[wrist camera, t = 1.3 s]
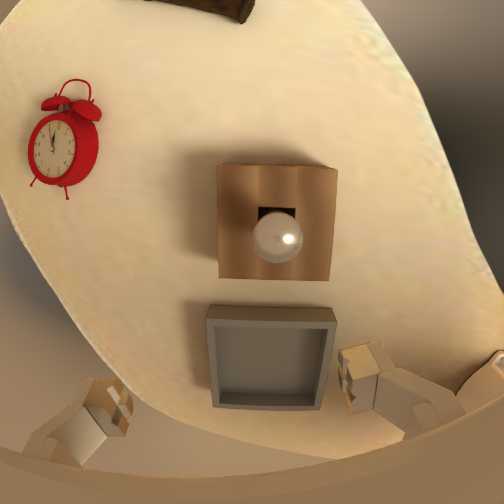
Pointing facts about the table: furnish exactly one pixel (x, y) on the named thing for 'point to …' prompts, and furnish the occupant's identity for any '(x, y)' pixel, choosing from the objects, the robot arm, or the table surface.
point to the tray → (269, 356)
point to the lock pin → (277, 236)
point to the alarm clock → (64, 141)
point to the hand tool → (220, 7)
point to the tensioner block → (275, 195)
